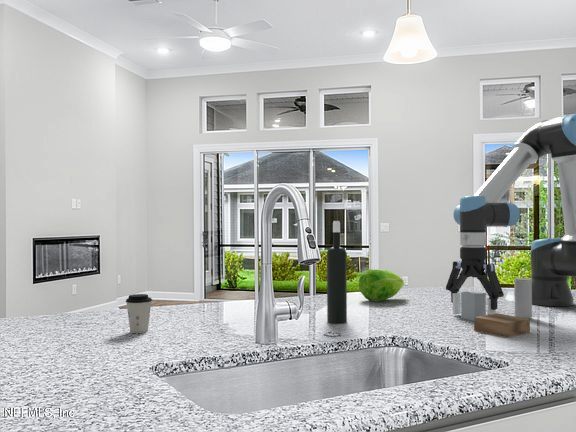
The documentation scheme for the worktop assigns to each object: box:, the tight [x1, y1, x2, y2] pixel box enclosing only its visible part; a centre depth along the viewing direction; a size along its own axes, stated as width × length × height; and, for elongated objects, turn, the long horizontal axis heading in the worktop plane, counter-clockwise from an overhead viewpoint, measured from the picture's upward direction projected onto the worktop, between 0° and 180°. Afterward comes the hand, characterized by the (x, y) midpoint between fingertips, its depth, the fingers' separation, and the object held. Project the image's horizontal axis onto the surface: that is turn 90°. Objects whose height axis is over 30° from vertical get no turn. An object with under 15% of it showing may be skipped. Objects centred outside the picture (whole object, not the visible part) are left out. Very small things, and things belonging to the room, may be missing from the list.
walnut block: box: [473, 312, 531, 338], centre depth 139 cm, size 10×10×4 cm
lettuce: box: [358, 268, 405, 303], centre depth 193 cm, size 14×20×12 cm
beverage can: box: [513, 277, 533, 320], centre depth 157 cm, size 5×5×12 cm
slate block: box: [460, 290, 487, 322], centre depth 156 cm, size 5×5×8 cm
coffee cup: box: [125, 293, 153, 335], centre depth 140 cm, size 7×7×10 cm
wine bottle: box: [326, 220, 348, 325], centre depth 153 cm, size 6×6×30 cm
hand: (473, 317), depth 156 cm, fingers open, 12 cm apart
